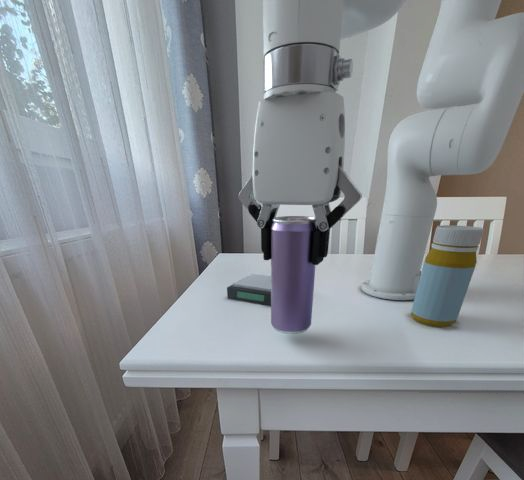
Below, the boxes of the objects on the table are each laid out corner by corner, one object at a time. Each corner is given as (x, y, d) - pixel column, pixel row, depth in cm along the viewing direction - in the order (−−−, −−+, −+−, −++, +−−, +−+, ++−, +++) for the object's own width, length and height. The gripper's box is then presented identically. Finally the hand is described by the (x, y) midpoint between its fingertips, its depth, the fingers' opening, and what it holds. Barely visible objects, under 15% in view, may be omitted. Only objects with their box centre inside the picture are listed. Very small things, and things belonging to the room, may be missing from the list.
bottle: (461, 330, 47) (497, 230, 40) (415, 326, 49) (442, 229, 41) (446, 314, 53) (475, 225, 46) (406, 311, 55) (428, 224, 47)
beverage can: (310, 337, 41) (318, 221, 34) (268, 334, 42) (267, 220, 35) (311, 319, 46) (319, 215, 39) (273, 317, 47) (274, 215, 40)
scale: (294, 292, 64) (295, 279, 63) (275, 307, 56) (275, 292, 55) (250, 286, 69) (249, 273, 67) (226, 298, 61) (226, 284, 59)
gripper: (392, 80, 30) (364, 260, 39) (244, 100, 37) (249, 250, 46) (384, 56, 24) (353, 274, 33) (209, 85, 31) (223, 260, 40)
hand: (293, 259), depth 39 cm, fingers closed on beverage can, 6 cm apart
